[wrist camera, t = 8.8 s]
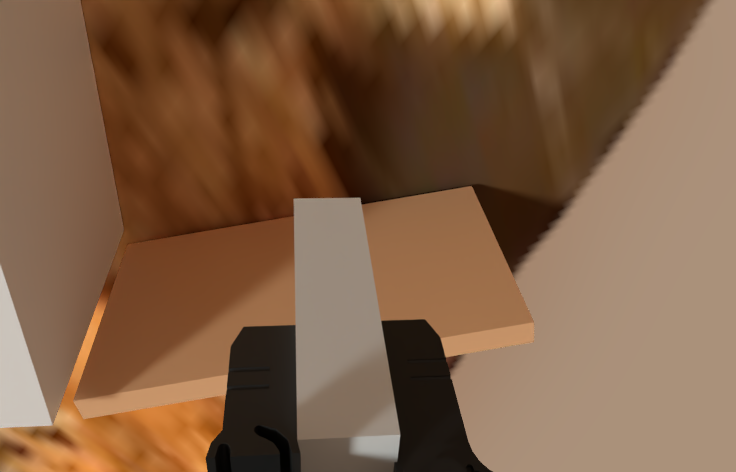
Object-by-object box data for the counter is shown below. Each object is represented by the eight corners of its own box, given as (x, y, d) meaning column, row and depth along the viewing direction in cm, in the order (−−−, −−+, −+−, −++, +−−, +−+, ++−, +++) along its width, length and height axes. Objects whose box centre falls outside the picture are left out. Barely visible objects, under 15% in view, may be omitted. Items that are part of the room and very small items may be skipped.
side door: (471, 185, 33) (534, 322, 24) (473, 223, 34) (533, 364, 26) (127, 244, 32) (73, 400, 24) (142, 279, 34) (95, 439, 26)
